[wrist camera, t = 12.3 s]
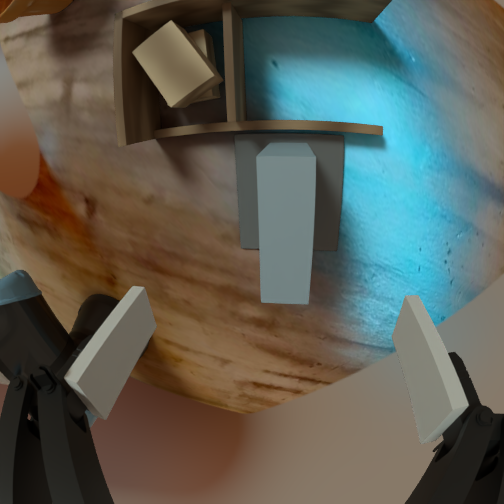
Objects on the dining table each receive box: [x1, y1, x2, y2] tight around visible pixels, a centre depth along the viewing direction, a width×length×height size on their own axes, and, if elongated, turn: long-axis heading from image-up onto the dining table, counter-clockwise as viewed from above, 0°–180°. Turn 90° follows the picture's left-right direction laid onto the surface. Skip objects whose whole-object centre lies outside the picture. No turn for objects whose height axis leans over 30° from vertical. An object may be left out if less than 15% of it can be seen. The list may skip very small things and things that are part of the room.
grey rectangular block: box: [256, 143, 316, 304], centre depth 25 cm, size 4×12×12 cm, turn 3°
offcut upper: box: [132, 20, 224, 108], centre depth 21 cm, size 5×8×4 cm, turn 33°
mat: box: [234, 133, 344, 251], centre depth 31 cm, size 12×14×1 cm
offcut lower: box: [168, 29, 221, 106], centre depth 24 cm, size 5×8×4 cm, turn 7°
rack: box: [113, 0, 392, 147], centre depth 21 cm, size 26×15×8 cm, turn 93°
